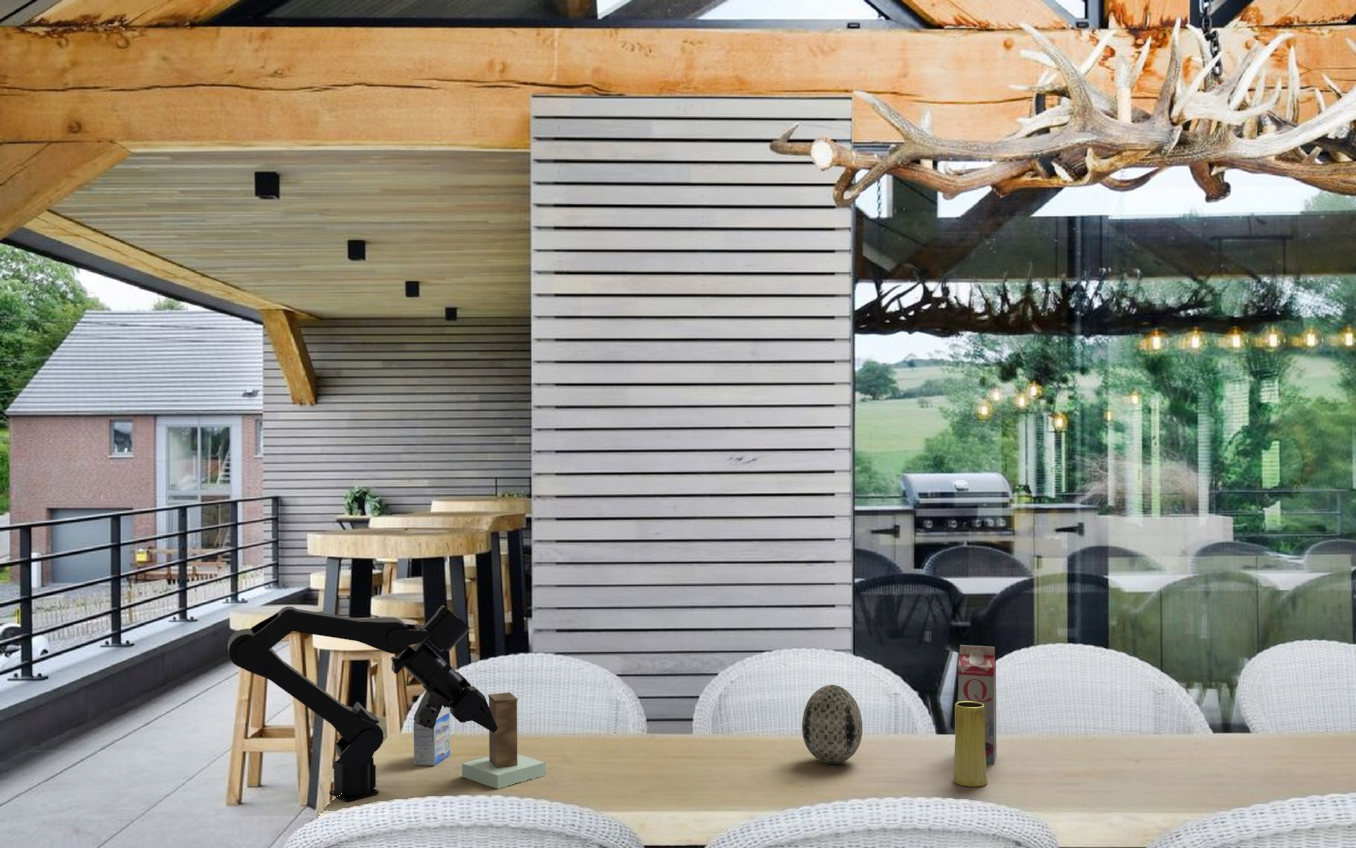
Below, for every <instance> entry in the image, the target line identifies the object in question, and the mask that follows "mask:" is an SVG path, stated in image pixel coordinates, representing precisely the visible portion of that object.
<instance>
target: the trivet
mask: <svg viewBox="0 0 1356 848" xmlns="http://www.w3.org/2000/svg"><path fill="white" fill-rule="evenodd" d="M545 776H546V761H545V762H544V761H541V760H538V759H535V758H531V757H528V756H524V755H522V754H519V753H517V766H511V767H503V768H496V767H495V766H494V765H493V764H492V763H491V762H490V761H489V756H485V757H482V758H478V759H475V760H474V759H473V760H470V761H466V762H462V763H461V777H462V778H465V779H468V780H470V781H473V782H476V783H479V784H482V785H485V786H488V787H490V788H493V787H494V789H496V790H500V789H502V788H501V787H503V788H506V787H510V786H509V785H511V786H513V785H512V784H514V785H516V784H515V783H517V782H521V783H524V781H525V782H528V781H530V780H529V779H532V780H535V779H538V778H537V777H539V778H542V777H545ZM527 780H528V781H527Z"/></svg>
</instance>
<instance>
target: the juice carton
mask: <svg viewBox="0 0 1356 848" xmlns="http://www.w3.org/2000/svg"><path fill="white" fill-rule="evenodd" d="M995 649H996V647H995V646H987V645H986V646H984V645H967V644H966V645H965V644H960V645H959V658H958V664H957V666H958V667H957V669H958V670H957V671H958V675H957V676H958V683H957V684H958V689H957V691H958V692H957V694H958V696H957V697H958V702H960V701H974V702H979V703H982V704H984V720H985V754H986V764H990V765H991V764H992V765H995V762H996V760H997V759H996V757H997V661H996V655H995V652H996V650H995Z"/></svg>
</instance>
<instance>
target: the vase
mask: <svg viewBox="0 0 1356 848" xmlns="http://www.w3.org/2000/svg"><path fill="white" fill-rule="evenodd" d="M954 725H955V726H954V729H955V730H954V755H953V756H954V757H953V778H952V781H953V782H954V783H955V784H956V785H959V786H962V787H970V788H971V787H972V788H979V787H983V786H985V785H987V784H988V777H987V776H988V775H987V763H986V754H985V720H984V704H982V703H979V702H974V701H960V702H959V701H957V702H956V703H955V704H954Z"/></svg>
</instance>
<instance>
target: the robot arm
mask: <svg viewBox="0 0 1356 848" xmlns="http://www.w3.org/2000/svg"><path fill="white" fill-rule="evenodd" d="M470 630H471V628H470V627H469V625H468V624H467V623H465V622H464V621H463V620H462V619H461V618H460V617H459V616H457V615H456V614H454V613H453V612H452V611H451V610H450V609H448V607H446V606H445V605H443V604H442V605H441V606H440V607H438V609H437V610H436V612H435V613H434V615H432V617H431V618H430V619H429V620H428V621H427V622H426V623H425V624H424V625H421V624H417V623H416V624H414V623H413V624H412V623H405V622H403V620H402V619H400V618H397V617H390V616H389V617H386V616H385V617H369V618H368V617H367V618H358V617H357V618H356V617H352V616H351V617H350V616H343V615H338V614H331V613H325V612H319V611H312V610H306V609H301V608H296V607H294V606H284V607H282V608H281V609H280V610H279V611H278V612H275V613H274V614H273V615H271V616H268V617H267V618H266V619H263V620H262V621H260V622H258V623H257V624H255V625H253V626H251V627H250V628H242V629H239V630H237V631H235V632H234V633H232V635H231V636H229V639H228V641H227V642H228V643H227V650H228V656H229V660H230V662H231V663H233V664H234V666H236V667H238V668H240V669H243V670H245V671H247V672H248V673H250V674H253V675H256V676H259V677H261V678H265V679H267V680H269V681H271V682H272V683H273V684H275V685H276V686H277V687H279V688H280V689H281V690H283V692H286V693H287V694H289V696H291V697H293V698H294V699H295V700H297V701H298V702H300V703H301V704H302V705H304V706H305V707H307V708H308V709H309V710H311V711H312V712H313V713H315V714H317V715H318V716H319V717H321V718H322V719H323V720H325V721H326V722H328V723H329V724H330V725H331V726H332V727H333V728H334V729H335V731H337V732H338V734H339V735H340V736H341V737H340V738H339V739H338V740H337V741H336V742H335V744H334V749H335V751H336V754H337V756H338V757H339V758H338V759H336V760H335V761H333V790H329V792H328V793H329V795H331V796H333V797H335V798H338V799H340V800H343V801H345V802H351V801H355V800H359V799H362V798H365V797H369V796H373V795H372V794H374V795H377V794H379V789H377V788H376V787H377V779H376V778H377V776H376V775H377V773H376V772H377V771H376V768H377V766H376V765H375V764H374V757H373V756H374V753H375V752H377V751H378V750H379V749H380V748H381V746H382V744H383V742H384V731H383V729H382V728H381V726H380V724H379V723H380V721H379V719H378V717H377V716H376V715H375V713H374V712H372V711H369V710H367V709H366V708H365V707H363V705H362V704H361V703H360V702H359V701H356V702H355V704H354V705H353V707H352V706H349V705H346V704H345V703H342V702H341V701H339V700H338V699H337V698H335V697H334V696H333V695H331V694H329V693H328V692H327V691H325V690H324V689H323V688H321V687H320V686H319V685H317V684H316V683H315V682H313V681H312V680H310V679H309V678H308V677H307V676H305V675H303V674H302V673H301V672H299V671H298V670H297V669H295V668H294V667H293V666H291V665H290V664H288V662H285V661H284V660H283V659H282V658H281V657H280V656H279V655H278V653H277V652H275V650H274V649H273V647H275V646H276V645H277V644H278V643H280V642H281V641H282V640H283V639H284V638H286V637H287V636H289V635H290V634H291V633H300V634H301V633H303V634H308V635H315V636H322V637H329V638H334V639H341V640H348V641H353V642H358V643H361V644H364V645H367V646H369V647H371V648H374V649H377V650H379V651H382V652H386V653H389V654H392V655H397V654H399V655H398V656H391V657H390V660H391V671H392V672H393V673H394V674H395V675H398V674H399V673H400V672H401V671H402V670H403V669H405V670H406V671H408V673H409V674H410V675H412V676H413V677H414V678H415V679H416V680H417V681H418V682H419V683H420V684H421V686H422V687H423V688H424V690H425V692H424V695H423V696H422V698H421V700H420V702H419V705H418V707H417V708H416V711H415V713H414V715H413V722H416V723H417V724H419V725H422V726H423V727H425V728H426V727H427V728H430V729H433V728H434V726H435V724H436V720H437V717H438V715H439V713H440V712H442V708H445V709H446V708H449V714H450V715H452V716H453V718H454V719H456V720H457V721H458V722H459V723H461V724H466V722H474V723H475V724H477V725H479V726H482V727H483V728H484V729H486V730H488V731H489V730H490V731H491V732H493V733H494V732H495V731H496V730H497V729H498V727H497V725H496V723H495V720H494V718H493V716H492V713H491V711H490V709H489V703H488V701H487V697H485V695H484V694H483V693H482V692H481V691H480V690H479V689H477V687H475V685H474V686H473V685H471V682H469V681H468V680H467V679H466V678H465V676H463V675H462V674H461V673H460V672H459V671H456V670H455V669H454V668H453V667H452V666H451V665H450V664H449V663H447V661H445V660H444V658H442V657H441V656H440V655H439V654H438V653H437V652H436V651H435V650H433V649H432V647H430V646H429V645H428V644H427V643H428V642H430V643H431V644H432V646H434V648H436V649H437V650H438V651H439V652H441V653H442V652H443V651H445V652H446V651H448V652H450V651H452V649H453V648H454V647H455V646H456V645H457V644H458V643H459V641H461V640H462V639H463V637H464V636H465V635H466V634H467V633H468V632H469V631H470ZM341 793H342V794H341ZM339 795H340V796H339ZM337 796H338V797H337Z"/></svg>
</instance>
